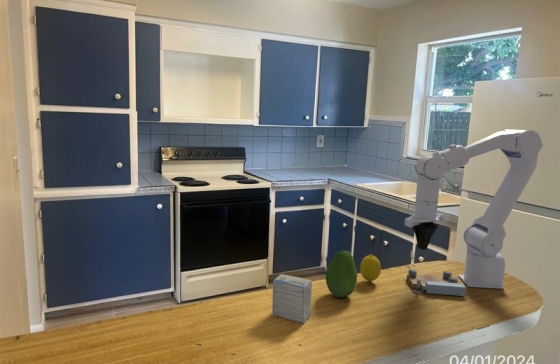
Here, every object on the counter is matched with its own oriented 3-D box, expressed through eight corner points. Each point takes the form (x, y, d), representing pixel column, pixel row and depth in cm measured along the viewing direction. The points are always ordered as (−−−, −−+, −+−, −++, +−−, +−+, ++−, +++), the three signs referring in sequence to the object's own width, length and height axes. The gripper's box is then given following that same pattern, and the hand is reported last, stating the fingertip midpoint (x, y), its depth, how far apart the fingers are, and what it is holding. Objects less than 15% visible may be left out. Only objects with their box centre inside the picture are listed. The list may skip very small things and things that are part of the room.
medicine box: (311, 315, 92) (312, 279, 90) (303, 324, 88) (305, 287, 86) (279, 308, 95) (280, 273, 94) (271, 316, 91) (272, 279, 90)
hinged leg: (422, 292, 105) (423, 283, 105) (420, 289, 107) (421, 280, 107) (464, 296, 104) (465, 287, 104) (462, 292, 106) (463, 283, 106)
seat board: (449, 281, 114) (450, 271, 113) (458, 291, 107) (459, 280, 107) (406, 279, 115) (407, 269, 114) (412, 289, 108) (413, 278, 108)
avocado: (360, 294, 104) (363, 249, 102) (348, 305, 97) (351, 258, 95) (332, 286, 108) (334, 243, 106) (318, 297, 101) (321, 251, 99)
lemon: (378, 278, 114) (380, 251, 113) (380, 286, 109) (383, 258, 108) (358, 277, 115) (360, 250, 113) (360, 285, 109) (362, 257, 108)
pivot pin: (421, 289, 108) (422, 278, 107) (424, 294, 105) (425, 282, 105) (411, 289, 108) (412, 277, 107) (413, 293, 105) (415, 282, 105)
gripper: (422, 205, 101) (418, 257, 104) (455, 200, 110) (450, 248, 112) (400, 200, 107) (396, 249, 109) (432, 196, 115) (428, 241, 117)
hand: (422, 248), depth 111 cm, fingers closed
